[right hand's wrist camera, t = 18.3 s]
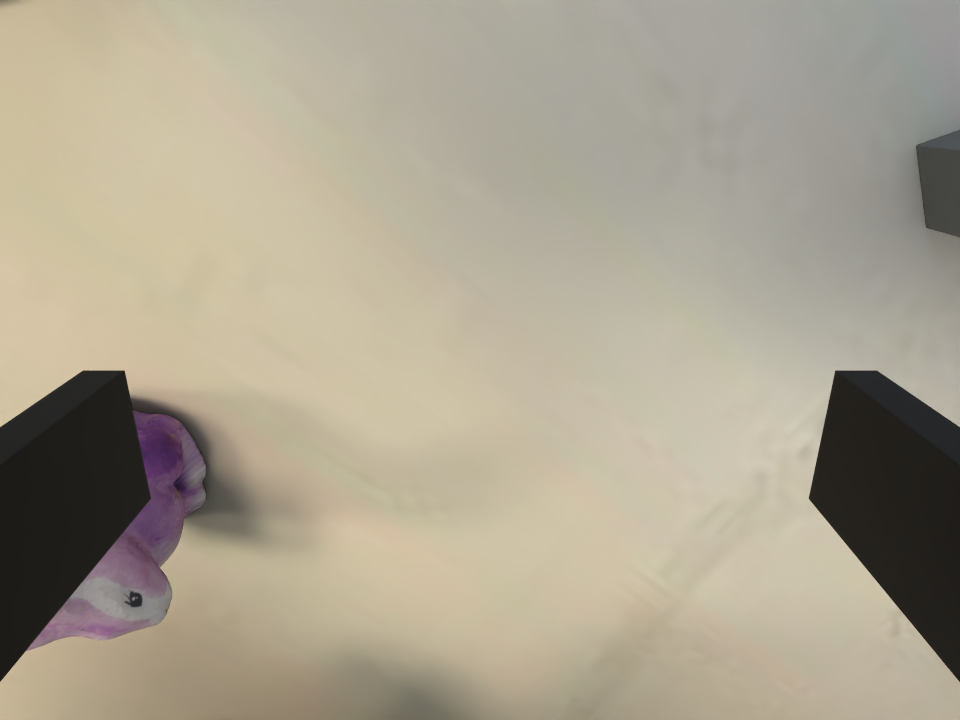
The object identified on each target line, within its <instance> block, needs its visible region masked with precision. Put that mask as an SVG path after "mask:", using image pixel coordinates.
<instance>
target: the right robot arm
mask: <svg viewBox="0 0 960 720" xmlns="http://www.w3.org/2000/svg"><path fill="white" fill-rule="evenodd" d="M150 499H151V495H150V491H149V486H148V481H147V476H146V471H145V467H144V462H143V457H142V452H141V447H140V442H139V438H138V433H137V428H136V423H135V418H134V414H133V409H132V404H131V399H130V394H129V390H128V385H127V380H126V375H125V371H82V372H80V373H79V374H78V375H76V376H75V377H73V378H72V379H70V380H69V381H67V382H66V383H64V384H63V385H61V386H60V387H58V388H57V389H56V390H54V391H53V392H51V393H50V394H48V395H47V396H45V397H44V398H42V399H41V400H39V401H38V402H37V403H35V404H34V405H32V406H31V407H29V408H28V409H26V410H25V411H23V412H22V413H20V414H19V415H18V416H16V417H15V418H13V419H12V420H10V421H9V422H7V423H6V424H4V425H3V426H1V427H0V682H1V680H2V679H3V678H4V677H5V675H6V674H7V673H8V672H9V671H10V669H11V668H12V667H13V666H14V665H15V663H16V662H17V661H18V660H19V658H20V657H21V656H22V655H23V654H24V652H25V651H26V650H27V649H28V648H29V646H30V645H31V644H32V643H33V641H34V640H35V639H36V638H37V637H38V635H39V634H40V633H41V632H42V631H43V629H44V628H45V627H46V626H47V624H48V623H49V622H50V621H51V620H52V618H53V617H54V616H55V615H56V614H57V612H58V611H59V610H60V609H61V607H62V606H63V605H64V604H65V603H66V601H67V600H68V599H69V598H70V597H71V595H72V594H73V593H74V592H75V590H76V589H77V588H78V587H79V586H80V584H81V583H82V582H83V581H84V580H85V578H86V577H87V576H88V575H89V573H90V572H91V571H92V570H93V569H94V567H95V566H96V565H97V564H98V563H99V561H100V560H101V559H102V558H103V556H104V555H105V554H106V553H107V552H108V550H109V549H110V548H111V547H112V546H113V544H114V543H115V542H116V541H117V539H118V538H119V537H120V536H121V535H122V533H123V532H124V531H125V530H126V529H127V527H128V526H129V525H130V524H131V523H132V521H133V520H134V519H135V518H136V516H137V515H138V514H139V513H140V512H141V510H142V509H143V508H144V507H145V506H146V504H147V503H148V502H149V501H150ZM809 499H810V501H811V502H812V503H813V504H814V506H815V507H816V508H817V509H818V510H819V512H820V513H821V514H822V515H823V516H824V518H825V519H826V520H827V521H828V523H829V524H830V525H831V526H832V527H833V529H834V530H835V531H836V532H837V533H838V535H839V536H840V537H841V538H842V539H843V541H844V542H845V543H846V544H847V546H848V547H849V548H850V549H851V550H852V552H853V553H854V554H855V555H856V556H857V558H858V559H859V560H860V561H861V563H862V564H863V565H864V566H865V567H866V569H867V570H868V571H869V572H870V573H871V575H872V576H873V577H874V578H875V580H876V581H877V582H878V583H879V584H880V586H881V587H882V588H883V589H884V590H885V592H886V593H887V594H888V595H889V597H890V598H891V599H892V600H893V601H894V603H895V604H896V605H897V606H898V607H899V609H900V610H901V611H902V612H903V614H904V615H905V616H906V617H907V618H908V620H909V621H910V622H911V623H912V624H913V626H914V627H915V628H916V629H917V631H918V632H919V633H920V634H921V635H922V637H923V638H924V639H925V640H926V641H927V643H928V644H929V645H930V646H931V648H932V649H933V650H934V651H935V652H936V654H937V655H938V656H939V657H940V658H941V660H942V661H943V662H944V663H945V665H946V666H947V667H948V668H949V669H950V671H951V672H952V673H953V674H954V675H955V677H956V678H957V679H958V680H959V682H960V427H959V426H957V425H956V424H954V423H953V422H951V421H950V420H948V419H947V418H945V417H944V416H942V415H941V414H940V413H938V412H937V411H935V410H934V409H932V408H931V407H929V406H928V405H926V404H925V403H923V402H922V401H921V400H919V399H918V398H916V397H915V396H913V395H912V394H910V393H909V392H907V391H906V390H904V389H903V388H902V387H900V386H899V385H897V384H896V383H894V382H893V381H891V380H890V379H888V378H887V377H885V376H884V375H882V374H881V373H880V372H878V371H835V375H834V380H833V385H832V390H831V394H830V399H829V404H828V409H827V414H826V418H825V423H824V428H823V433H822V438H821V442H820V447H819V452H818V457H817V462H816V467H815V471H814V476H813V481H812V486H811V491H810V495H809Z"/></svg>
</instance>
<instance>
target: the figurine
mask: <svg viewBox="0 0 960 720" xmlns="http://www.w3.org/2000/svg"><path fill="white" fill-rule="evenodd" d="M133 414H134V418H135V423H136V428H137V433H138V438H139V442H140V447H141V452H142V457H143V462H144V467H145V471H146V476H147V481H148V486H149V491H150V495H151V499H150V501H149V502H148V503H147V504H146V506H145V507H144V508H143V509H142V510H141V512H140V513H139V514H138V515H137V516H136V518H135V519H134V520H133V521H132V523H131V524H130V525H129V526H128V527H127V529H126V530H125V531H124V532H123V533H122V535H121V536H120V537H119V538H118V539H117V541H116V542H115V543H114V544H113V546H112V547H111V548H110V549H109V550H108V552H107V553H106V554H105V555H104V556H103V558H102V559H101V560H100V561H99V563H98V564H97V565H96V566H95V567H94V569H93V570H92V571H91V572H90V573H89V575H88V576H87V577H86V578H85V580H84V581H83V582H82V583H81V584H80V586H79V587H78V588H77V589H76V590H75V592H74V593H73V594H72V595H71V597H70V598H69V599H68V600H67V601H66V603H65V604H64V605H63V606H62V607H61V609H60V610H59V611H58V612H57V614H56V615H55V616H54V617H53V618H52V620H51V621H50V622H49V623H48V624H47V626H46V627H45V628H44V629H43V631H42V632H41V633H40V634H39V635H38V637H37V638H36V639H35V640H34V641H33V643H32V644H31V645H30V646H29V648H28V649H27V650H31V649H34V648H37V647H40V646H43V645H45V644H48V643H50V642H52V641H54V640H58V639H62V638H65V637H72V636H82V637H87V638H90V639H95V640H109V639H113V638H116V637H119V636H121V635H124V634H127V633H129V632H132V631H136V630H139V629H143V628H147V627H150V626H154V625H157V624H158V623H160V622H161V621H162V620H163V619H164V617H165V616H166V614H167V610H168V608H169V605H170V602H171V599H172V589H171V586H170V583H169V581H168V579H167V577H166V575H165V574H164V572H163V571H162V570H161V569H160V567H161V566H162V565H163V564H164V562H165V561H166V560H167V559H168V558H169V557H170V555H171V554H172V553H173V552H174V550H175V548H176V547H177V545H178V543H179V540H180V537H181V533H182V529H183V521H184V517H185V516H186V515H188V514H190V513H191V512H193V511H195V510H197V509H198V508H200V507H201V506H202V505H203V504H204V503H205V501H206V493H205V489H204V486H203V485H202V481H203V479H204V477H205V476H206V465H205V464H204V459H203V457H202V455H201V454H200V452H199V449H198V448H197V446H196V444H195V442H194V440H193V438H192V437H191V436H190V434H189V433H188V431H186V428H185V427H184V426H183V424H182V423H181V422H180V421H178V420H176V419H174V418H173V417H172V416H168V415H163V414H147V413H142V412H137V411H134V410H133ZM27 650H26V651H27Z"/></svg>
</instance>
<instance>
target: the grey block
mask: <svg viewBox="0 0 960 720" xmlns="http://www.w3.org/2000/svg"><path fill="white" fill-rule="evenodd" d="M916 148H917V156H918V164H919V172H920V181H921V189H922V197H923V205H924V213H925V222H926V227H927V228H929V229H933V230H936V231H940V232H943V233H947V234H950V235H954V236H957V237H960V130H959V131H956V132H953V133H950V134H947V135H944V136H941V137H939V138H936V139H933V140H930V141H927V142H924V143H922V144H919V145H917V146H916Z"/></svg>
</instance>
